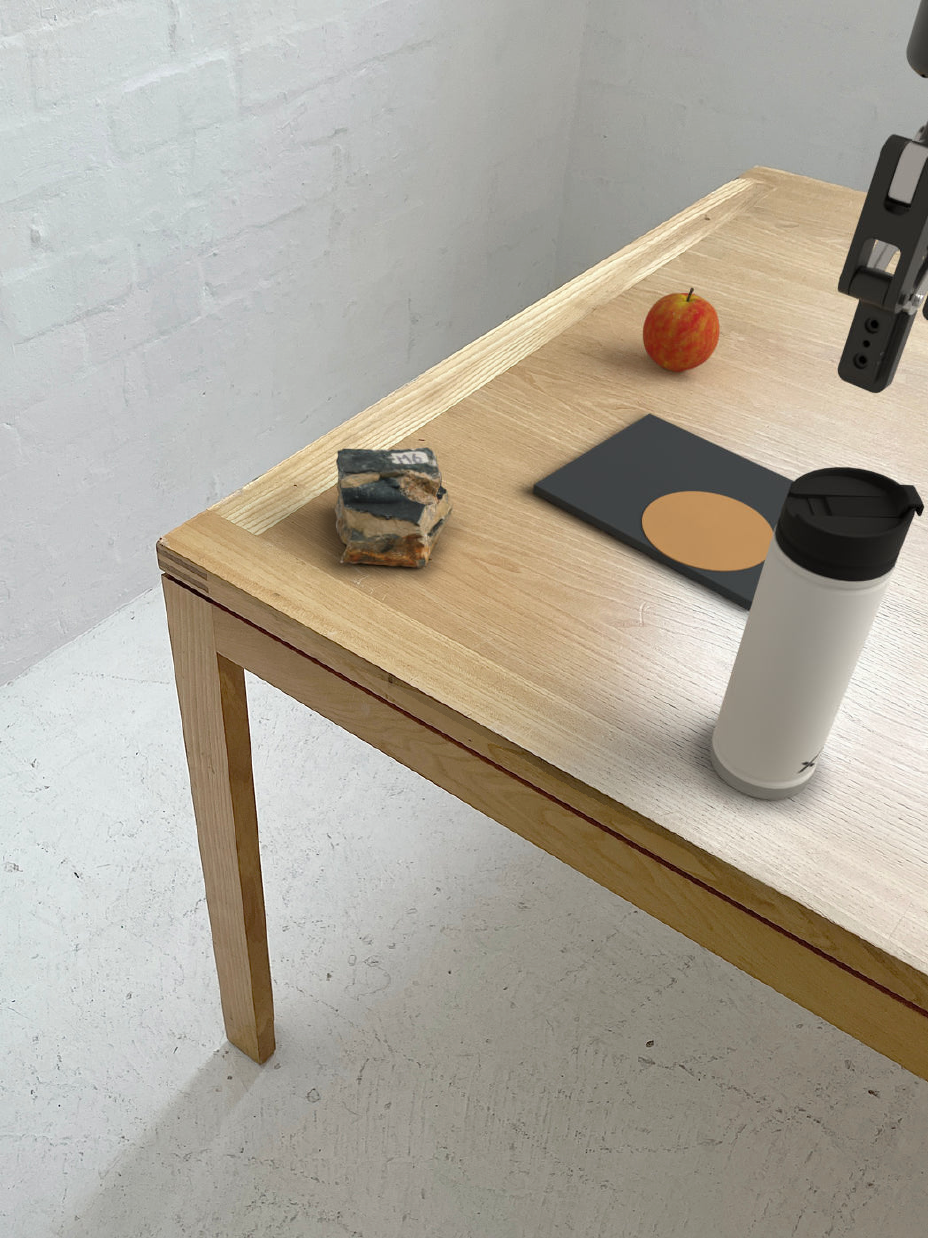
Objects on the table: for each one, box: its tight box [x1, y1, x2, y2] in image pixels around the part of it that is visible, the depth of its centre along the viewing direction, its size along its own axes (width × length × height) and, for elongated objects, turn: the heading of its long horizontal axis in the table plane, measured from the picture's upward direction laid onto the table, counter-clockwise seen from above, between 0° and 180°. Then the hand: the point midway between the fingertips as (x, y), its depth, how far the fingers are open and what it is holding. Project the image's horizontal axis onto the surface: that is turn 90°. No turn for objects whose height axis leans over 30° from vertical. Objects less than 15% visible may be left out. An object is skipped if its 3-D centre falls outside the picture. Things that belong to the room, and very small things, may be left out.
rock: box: [334, 446, 454, 569], centre depth 82 cm, size 9×9×6 cm
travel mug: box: [708, 466, 925, 801], centre depth 62 cm, size 6×7×20 cm
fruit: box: [642, 287, 721, 373], centre depth 104 cm, size 7×7×8 cm
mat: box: [532, 413, 795, 611], centre depth 89 cm, size 20×16×1 cm
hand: (905, 352), depth 51 cm, fingers open, 8 cm apart
